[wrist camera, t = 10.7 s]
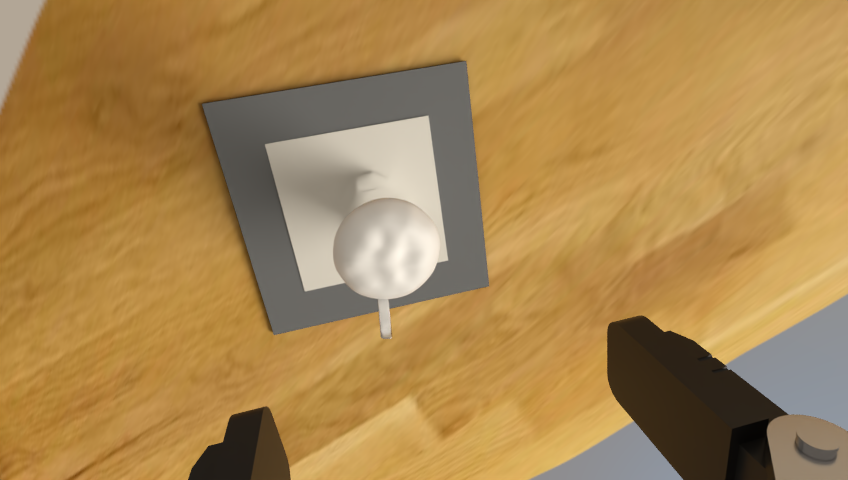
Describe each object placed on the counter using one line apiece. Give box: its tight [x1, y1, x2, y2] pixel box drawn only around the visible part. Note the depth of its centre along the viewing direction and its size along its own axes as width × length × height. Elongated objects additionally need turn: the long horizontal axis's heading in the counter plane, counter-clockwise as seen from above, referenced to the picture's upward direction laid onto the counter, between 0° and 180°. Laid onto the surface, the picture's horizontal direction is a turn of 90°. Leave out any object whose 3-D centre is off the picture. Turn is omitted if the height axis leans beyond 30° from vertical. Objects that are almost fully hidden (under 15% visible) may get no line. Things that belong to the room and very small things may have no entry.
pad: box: [202, 61, 489, 335], centre depth 28 cm, size 14×14×1 cm
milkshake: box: [333, 172, 440, 339], centre depth 23 cm, size 4×5×10 cm
